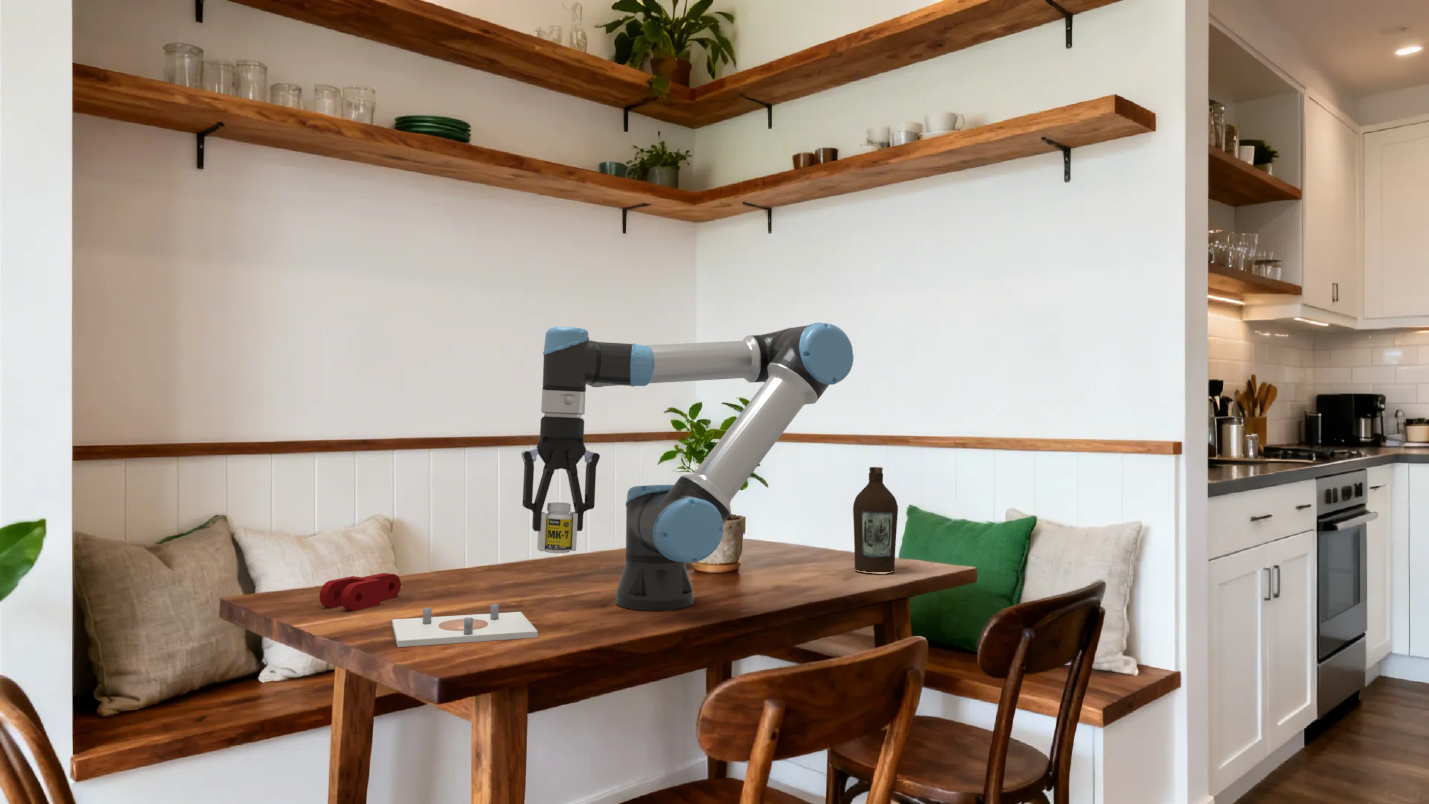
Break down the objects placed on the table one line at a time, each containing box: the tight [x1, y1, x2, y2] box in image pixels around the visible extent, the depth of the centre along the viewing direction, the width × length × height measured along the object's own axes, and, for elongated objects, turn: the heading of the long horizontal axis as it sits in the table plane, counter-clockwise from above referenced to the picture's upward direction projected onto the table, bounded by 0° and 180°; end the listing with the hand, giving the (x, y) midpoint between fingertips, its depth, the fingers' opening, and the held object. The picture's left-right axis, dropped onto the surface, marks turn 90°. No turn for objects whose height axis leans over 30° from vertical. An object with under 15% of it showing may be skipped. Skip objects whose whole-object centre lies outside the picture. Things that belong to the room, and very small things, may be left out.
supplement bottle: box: [543, 501, 572, 554], centre depth 166 cm, size 5×5×8 cm
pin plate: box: [391, 603, 539, 648], centre depth 161 cm, size 22×16×4 cm
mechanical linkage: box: [319, 572, 402, 612], centre depth 183 cm, size 16×7×5 cm, turn 156°
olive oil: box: [852, 466, 899, 572], centre depth 229 cm, size 11×11×25 cm
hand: (556, 549), depth 166 cm, fingers closed on supplement bottle, 5 cm apart
